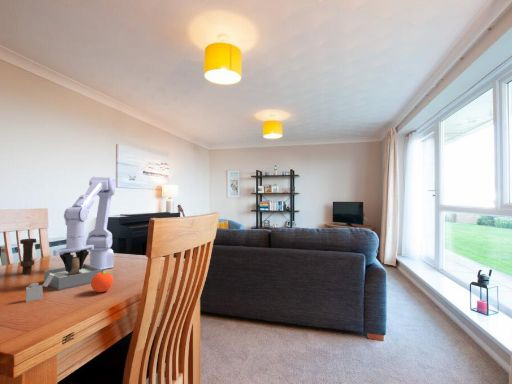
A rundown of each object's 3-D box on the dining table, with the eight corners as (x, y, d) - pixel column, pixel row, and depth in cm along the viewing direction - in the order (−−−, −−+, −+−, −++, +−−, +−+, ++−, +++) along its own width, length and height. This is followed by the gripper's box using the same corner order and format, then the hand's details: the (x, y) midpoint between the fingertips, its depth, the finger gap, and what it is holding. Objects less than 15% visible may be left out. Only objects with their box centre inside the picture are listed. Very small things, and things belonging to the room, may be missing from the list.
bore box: (85, 273, 116) (86, 263, 116) (102, 280, 106) (102, 269, 107) (43, 282, 104) (44, 270, 104) (58, 290, 94) (59, 278, 94)
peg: (75, 273, 107) (76, 256, 108) (81, 274, 106) (81, 257, 106) (66, 275, 104) (66, 258, 104) (71, 276, 103) (72, 259, 103)
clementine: (111, 286, 100) (111, 267, 100) (119, 290, 95) (119, 271, 96) (87, 291, 94) (88, 272, 94) (94, 296, 89) (95, 275, 89)
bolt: (24, 275, 111) (25, 240, 112) (15, 274, 112) (16, 240, 113) (38, 272, 117) (39, 238, 118) (29, 271, 118) (30, 238, 119)
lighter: (25, 302, 84) (26, 277, 84) (25, 300, 85) (26, 275, 85) (53, 297, 88) (54, 273, 88) (53, 295, 90) (54, 272, 90)
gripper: (86, 233, 114) (85, 265, 113) (49, 238, 101) (47, 273, 100) (97, 235, 111) (96, 267, 110) (60, 239, 98) (58, 275, 97)
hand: (73, 270), depth 105 cm, fingers closed on peg, 3 cm apart
